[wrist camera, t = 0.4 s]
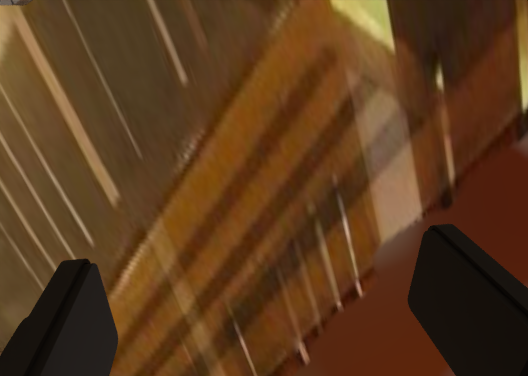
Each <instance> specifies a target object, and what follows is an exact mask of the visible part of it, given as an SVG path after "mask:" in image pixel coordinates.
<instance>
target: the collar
mask: <svg viewBox="0 0 528 376" xmlns="http://www.w3.org/2000/svg"><path fill="white" fill-rule="evenodd" d="M31 1H32V0H0V5H23V4H24V5H26V4H28V3H29V2H31Z"/></svg>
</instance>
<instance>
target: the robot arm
mask: <svg viewBox="0 0 528 376" xmlns="http://www.w3.org/2000/svg"><path fill="white" fill-rule="evenodd" d="M408 304H409V307H410V309H411V311H412V312H413V314H414V315H415V317H416V318H417V320H418V321H419V323H420V324H421V326H422V327H423V328H424V330H425V331H426V333H427V334H428V335H429V337H430V339H431V340H432V341H433V343H434V344H435V346H436V347H437V349H438V350H439V352H440V353H441V355H442V356H443V357H444V359H445V360H446V362H447V363H448V365H449V366H450V368H451V369H452V371H453V372H454V374H455V375H456V376H528V288H527V287H526V286H524V285H523V284H522V283H521V282H520V281H518V280H517V279H516V278H515V277H514V276H513V275H512V274H510V273H509V272H508V271H507V270H506V269H504V268H503V267H502V266H501V265H500V264H499V263H498V262H496V261H495V260H494V259H493V258H492V257H490V256H489V255H488V254H487V253H486V252H485V251H484V250H482V249H481V248H480V247H479V246H478V245H477V244H475V243H474V242H473V241H472V240H471V239H469V238H468V237H467V236H466V235H465V234H464V233H462V232H461V231H460V230H459V229H458V228H457V227H455V226H454V225H452V224H443V225H433V226H430V227H429V228H428V231H425V233H424V234H423V238H422V241H421V246H420V250H419V254H418V258H417V262H416V266H415V270H414V274H413V278H412V282H411V286H410V290H409V295H408ZM117 345H118V334H117V330H116V327H115V323H114V320H113V317H112V313H111V310H110V307H109V303H108V300H107V297H106V293H105V290H104V286H103V283H102V280H101V276H100V273H99V270H98V267H97V265H96V264H95V263H93V264H90V261H89V260H88V259H77V260H66V261H63V262H61V264H60V265H59V267H58V268H57V270H56V272H55V273H54V275H53V277H52V278H51V280H50V282H49V283H48V285H47V287H46V288H45V290H44V292H43V293H42V295H41V297H40V298H39V300H38V302H37V303H36V305H35V307H34V308H33V310H32V312H31V313H30V315H29V316H28V317H27V318H25V319H24V320H23V321H22V322H21V323H20V325H19V326H18V328H17V329H16V331H15V333H14V334H13V336H12V337H11V339H10V341H9V342H8V344H7V346H6V347H5V349H4V351H3V352H2V354H1V355H0V376H109V374H110V371H111V367H112V364H113V360H114V356H115V353H116V349H117Z"/></svg>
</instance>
